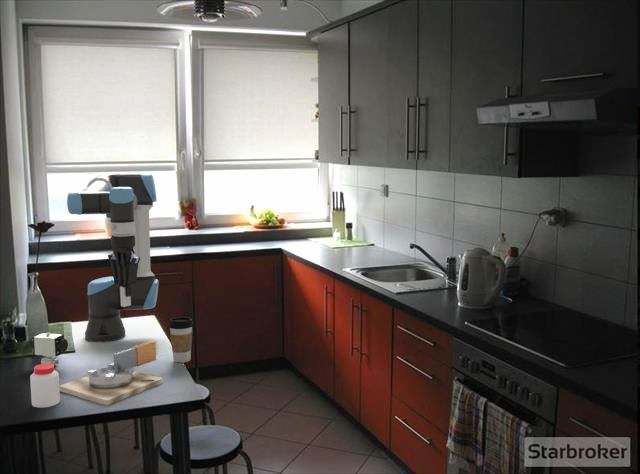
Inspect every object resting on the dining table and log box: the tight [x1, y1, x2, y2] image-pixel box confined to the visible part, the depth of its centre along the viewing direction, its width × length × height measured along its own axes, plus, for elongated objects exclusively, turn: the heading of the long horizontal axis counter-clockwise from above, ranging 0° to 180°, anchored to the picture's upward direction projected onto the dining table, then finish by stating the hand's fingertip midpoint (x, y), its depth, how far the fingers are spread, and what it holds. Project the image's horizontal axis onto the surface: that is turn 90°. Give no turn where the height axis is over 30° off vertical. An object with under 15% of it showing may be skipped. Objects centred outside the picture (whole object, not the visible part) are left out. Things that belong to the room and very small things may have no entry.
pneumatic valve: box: [29, 331, 69, 367], centre depth 225 cm, size 6×12×12 cm, turn 78°
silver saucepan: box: [87, 340, 157, 389], centre depth 211 cm, size 24×13×8 cm, turn 148°
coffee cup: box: [168, 316, 194, 363], centre depth 232 cm, size 8×8×15 cm
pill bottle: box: [29, 363, 61, 409], centre depth 193 cm, size 8×8×11 cm
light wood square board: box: [59, 370, 164, 406], centre depth 207 cm, size 22×22×2 cm
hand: (125, 305), depth 218 cm, fingers closed
